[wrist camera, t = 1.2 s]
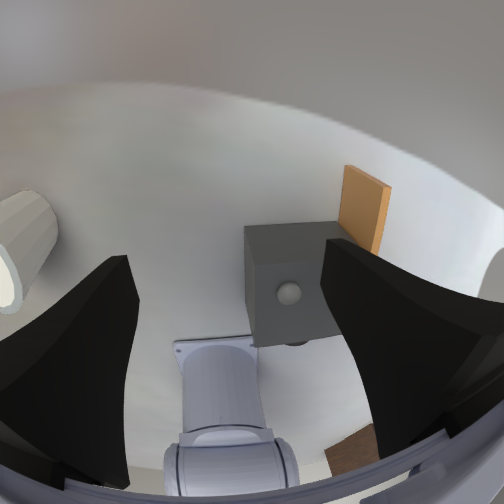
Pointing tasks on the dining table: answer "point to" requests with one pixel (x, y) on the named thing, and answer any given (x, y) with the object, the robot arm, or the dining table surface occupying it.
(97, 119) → the dining table surface
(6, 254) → the white cup
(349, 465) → the tissue box cover
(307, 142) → the dining table surface
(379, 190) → the side door
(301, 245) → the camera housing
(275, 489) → the robot arm
